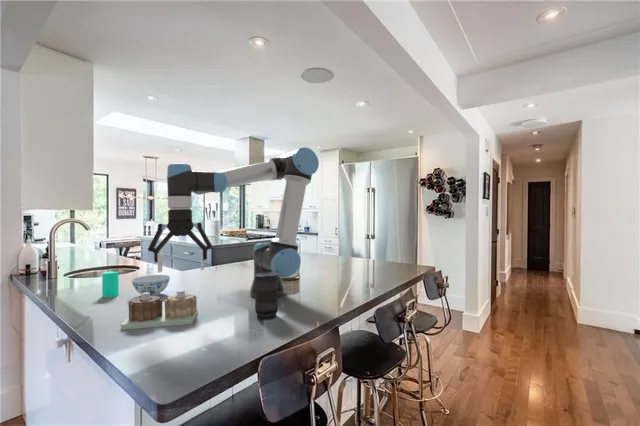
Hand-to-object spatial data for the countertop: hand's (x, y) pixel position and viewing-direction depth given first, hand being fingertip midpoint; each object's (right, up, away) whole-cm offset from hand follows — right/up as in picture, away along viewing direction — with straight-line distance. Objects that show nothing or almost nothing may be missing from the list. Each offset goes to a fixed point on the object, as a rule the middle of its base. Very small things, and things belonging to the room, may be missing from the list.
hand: (181, 270), depth 109 cm
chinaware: (-27, -17, +32) cm, 45 cm away
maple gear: (0, -15, 0) cm, 15 cm away
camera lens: (+29, -17, +2) cm, 33 cm away
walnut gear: (-11, -15, -3) cm, 19 cm away
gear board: (-6, -17, -2) cm, 18 cm away
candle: (-45, -17, +32) cm, 58 cm away
